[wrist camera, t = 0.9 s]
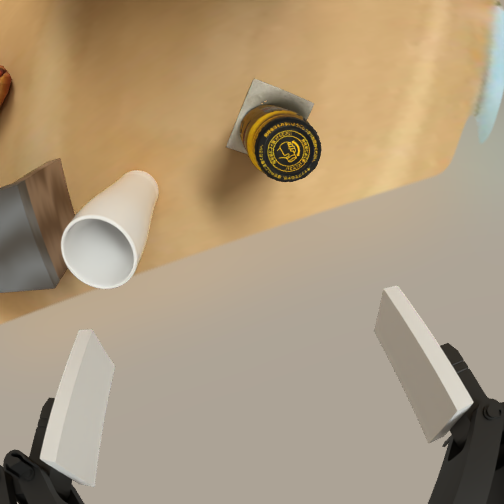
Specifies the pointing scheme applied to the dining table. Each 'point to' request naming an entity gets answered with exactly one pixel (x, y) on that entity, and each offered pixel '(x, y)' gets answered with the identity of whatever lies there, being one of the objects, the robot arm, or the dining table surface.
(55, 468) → the robot arm
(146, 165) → the dining table surface
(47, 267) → the gray-topped wooden box
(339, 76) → the dining table surface
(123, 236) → the white tapered cylinder
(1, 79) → the hot dog
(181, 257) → the dining table surface
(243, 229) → the dining table surface
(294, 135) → the condiment
